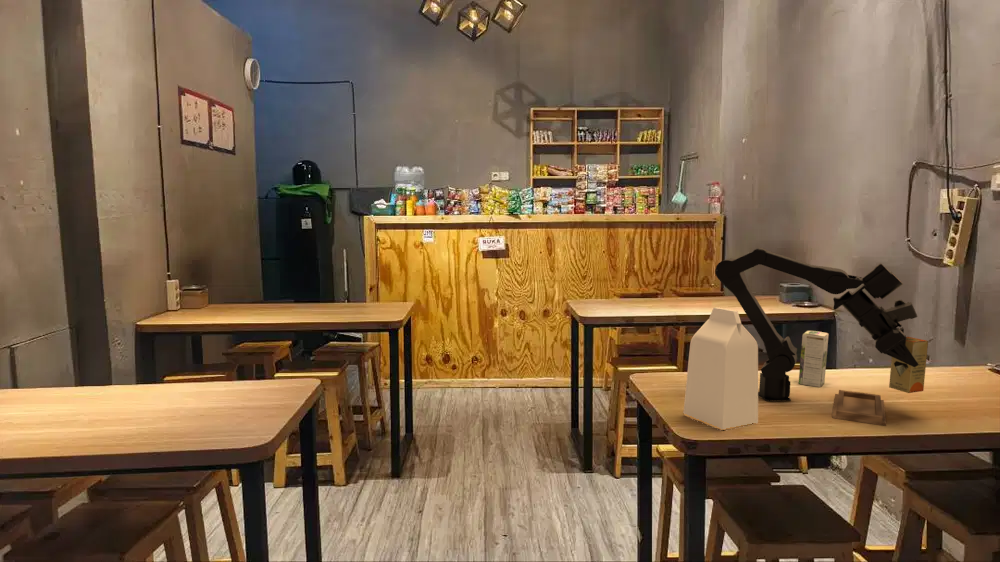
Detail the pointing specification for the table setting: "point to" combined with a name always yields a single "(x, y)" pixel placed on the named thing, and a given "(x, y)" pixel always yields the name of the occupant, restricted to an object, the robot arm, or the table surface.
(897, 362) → the shoe polish box
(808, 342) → the syrup box
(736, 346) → the milk
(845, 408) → the tray
